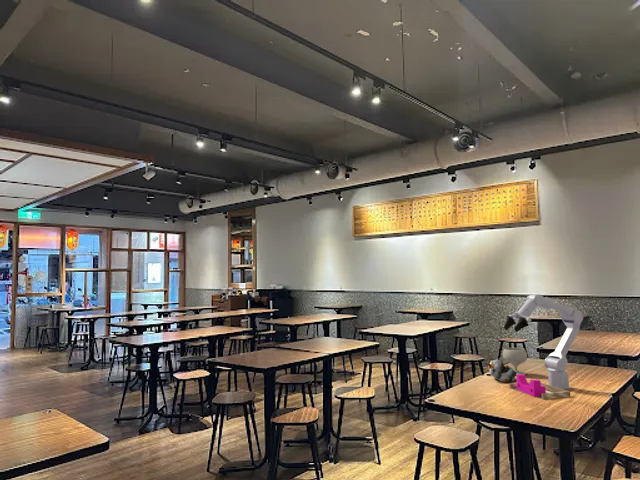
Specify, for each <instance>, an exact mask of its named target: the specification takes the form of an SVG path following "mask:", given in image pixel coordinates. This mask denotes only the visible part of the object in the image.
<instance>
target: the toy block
mask: <svg viewBox="0 0 640 480" xmlns="http://www.w3.org/2000/svg"><path fill="white" fill-rule="evenodd" d="M528 382H529V381H528V380H527V378H526V375H523V374H520V375H516V383H517V389H518V390H521V391H523V392H525V393H524V394H526V393H527V394H526V395H529V394H530V396H532V397H535V396H542V395H541V394H544V393H546V388H545V386H542V385H541V383H542V382H541V380H540V379H530V384H528ZM523 392H522V393H523Z"/></svg>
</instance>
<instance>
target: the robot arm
mask: <svg viewBox="0 0 640 480" xmlns="http://www.w3.org/2000/svg"><path fill="white" fill-rule="evenodd" d="M537 307H538V308H539V307H540V308H542V309H545V310H551V309H553V310H556V311H558V314H559V315H560V318H561V321H562V322H563V323H564V325H565V326H566V329H565V331H564V332H563V335H562V337H561V339H560V341H559V342H558V344H557V346H556V348H555V350H554V351H553V352H551V353H549V354H548V356H547V357H545V359H544V363H543V364H544V366H545V368H546V370H547V375H548V385H550V386H553V387H557V388H560V389H564V390H566V389H571V387H570V382H569V379H570V378H569V374H568V372H567V371H566V368H567V363H568V362H569V361H568V359H567V357H566V356H567V354H568V352H569V350H570V348H571V347H572V344H573V343H574V341H575V339H576V337H577V335H578V333H579V332H580V327H581V324H582V322H583V320H584V316H583V314H582V311H581V310H578V309H576V308H575V307H571V306H568V305H564V304H560V303H558V302H554V301H553V299H551V298H550V297H548V296H545V297H544V296H543V295H542V294H529V295H527V297H526V301H525V302H524V304H523V305H522V306H521V307H520V308H519V310H518V311H514V313H513V314H509V315H507V316H506V321H505V323H504V325H503V329H504V330H505V331H508V330H509V329H510V328H511V327H512V326H514V325H515V326H514V328H513V330H514V331H515V332H516V333H517V332H519V331H521V330H522V329H524V328H526V327H529V325H530V324H529V323H531V322H532V319H531V317H530V316H531V315H532V314H533V312H534V311H535V310H536V309H537ZM516 321H517V323H516Z"/></svg>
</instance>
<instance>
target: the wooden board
mask: <svg viewBox="0 0 640 480" xmlns="http://www.w3.org/2000/svg"><path fill="white" fill-rule="evenodd" d="M527 382H528V384H530V381H527ZM508 385H509V389H511V390H515V391H517V392H521V393H523V394H526V395H530V394H527V393H525V392H523V391H521V390H518V389H517V382H511V383H508ZM541 385H542V386H545V388H546V393H544V394H541V395H542V396H534V397H536V398H538V399H542V400H549V399H550V400H551V399H558V398H567V397H571V391H570V390H566V389H560V388H557V387H553V386H550V385H549V384H547V383H543V382H541ZM530 396H531V395H530Z"/></svg>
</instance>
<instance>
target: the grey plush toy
mask: <svg viewBox="0 0 640 480" xmlns="http://www.w3.org/2000/svg"><path fill="white" fill-rule="evenodd" d="M489 361H490V362H489V363H488V364H487V365H488V366H487V368H488V369H487V370H488V371H489V374H490V375H491V376H492V377H493V380H497V381H500V382H502V383H504V384H509V383H514V381H515V380H516V378H515V377H516V376H517V375H516V373H517V372H515V371H514V368H513V367H511V366H509V365H507V364H506V365H505V364H504V362H503V361H502V360H499V358H496V359H493V358H490V359H489Z"/></svg>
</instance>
